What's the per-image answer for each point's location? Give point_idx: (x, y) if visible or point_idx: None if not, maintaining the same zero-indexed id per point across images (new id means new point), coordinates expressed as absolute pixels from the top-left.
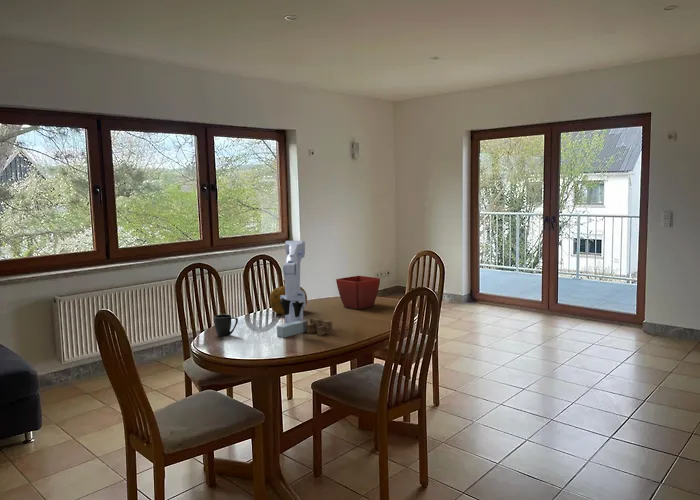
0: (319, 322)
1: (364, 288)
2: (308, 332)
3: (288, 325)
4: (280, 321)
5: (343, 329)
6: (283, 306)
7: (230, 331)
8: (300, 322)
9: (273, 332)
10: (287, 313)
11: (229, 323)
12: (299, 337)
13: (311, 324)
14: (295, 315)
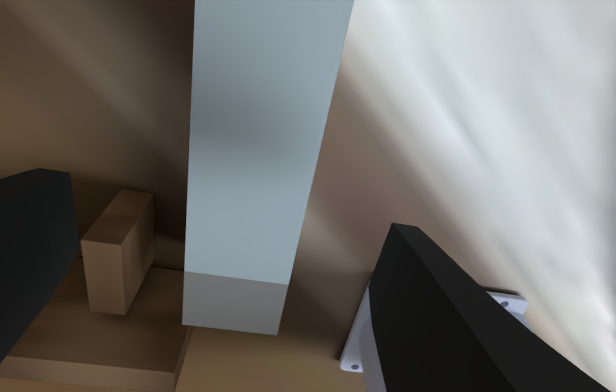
0: None
1: None
2: (127, 194)
3: (214, 30)
4: (603, 358)
5: None
6: (520, 375)
7: None
8: (198, 249)
9: (510, 51)
10: (383, 277)
11: None
12: (64, 5)
13: (90, 277)
14: (14, 177)
